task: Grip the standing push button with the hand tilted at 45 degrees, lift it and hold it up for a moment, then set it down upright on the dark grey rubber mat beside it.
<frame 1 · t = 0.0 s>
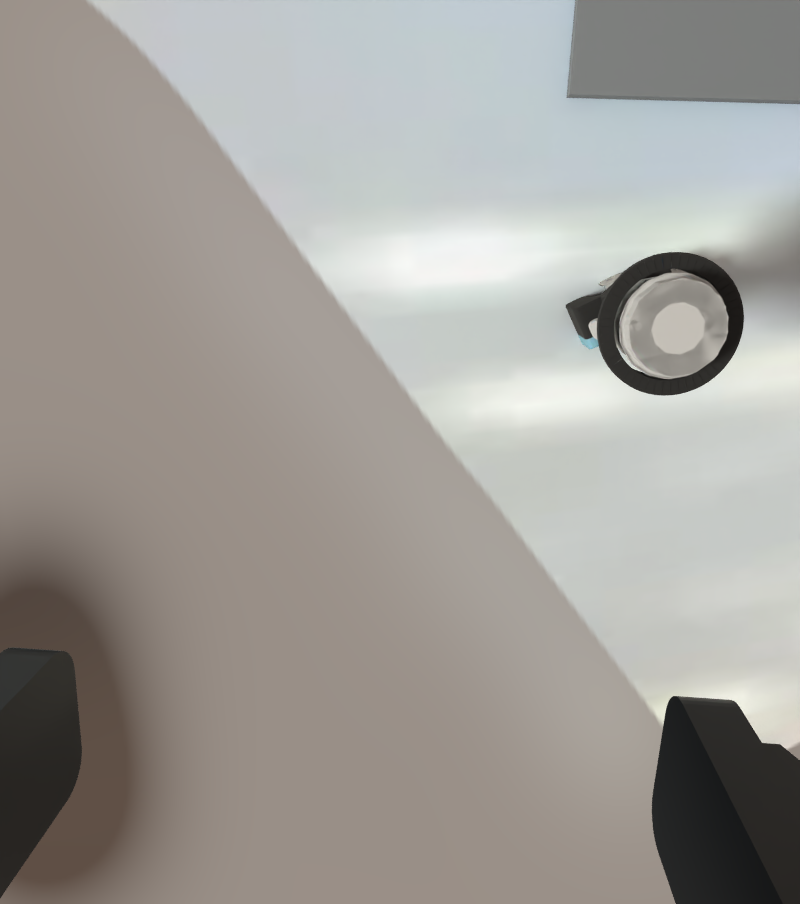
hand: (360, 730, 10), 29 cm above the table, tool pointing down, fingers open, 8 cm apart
push button: (630, 299, 37), on the table
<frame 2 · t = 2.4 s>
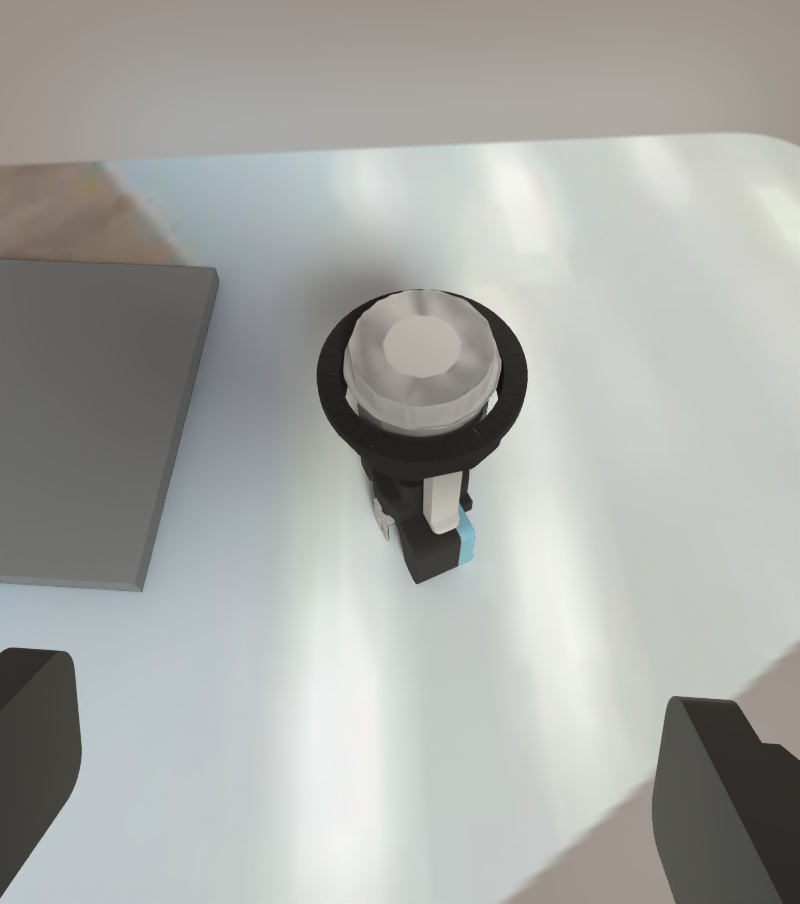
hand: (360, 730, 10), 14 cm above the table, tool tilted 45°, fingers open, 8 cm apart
push button: (412, 503, 27), on the table
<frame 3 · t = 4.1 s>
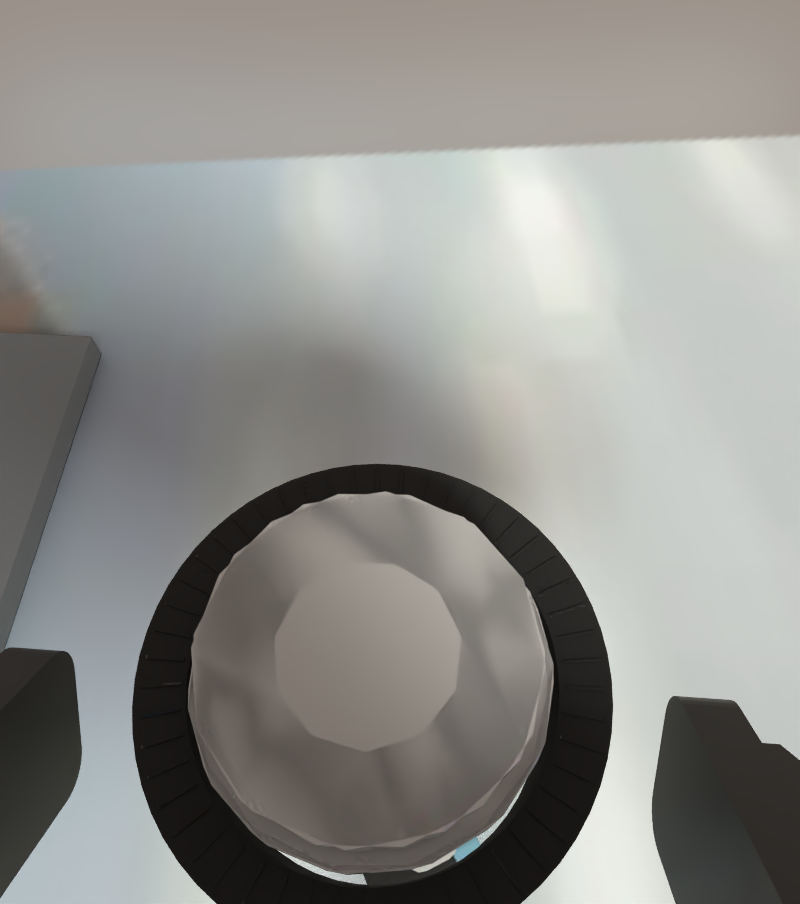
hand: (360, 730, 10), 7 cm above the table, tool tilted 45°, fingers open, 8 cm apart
push button: (379, 739, 17), on the table
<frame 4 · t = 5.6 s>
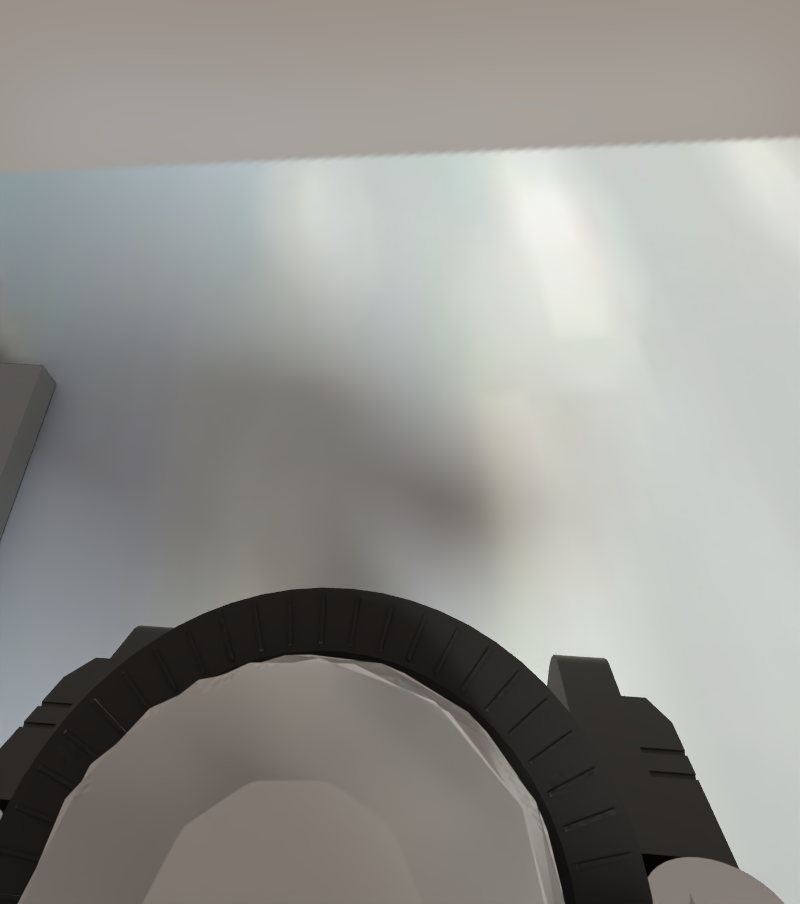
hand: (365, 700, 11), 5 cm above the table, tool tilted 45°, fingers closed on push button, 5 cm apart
push button: (367, 850, 14), on the table, touching gripper
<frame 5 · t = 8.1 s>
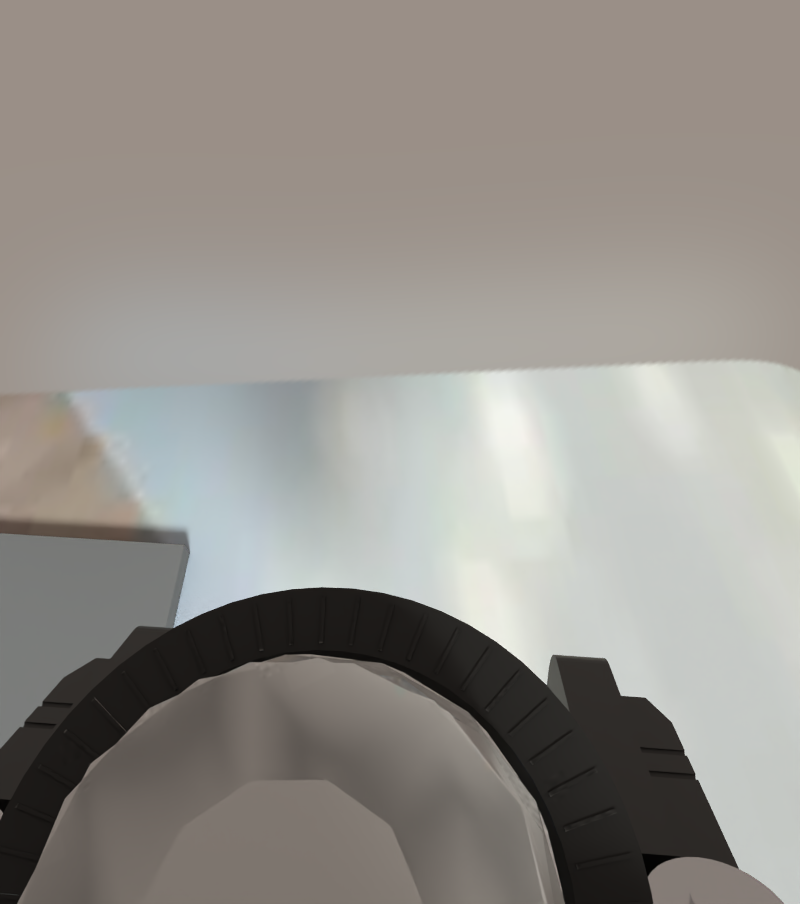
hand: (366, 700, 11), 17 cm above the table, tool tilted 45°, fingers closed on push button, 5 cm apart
push button: (368, 850, 14), point 12 cm above the table, touching gripper
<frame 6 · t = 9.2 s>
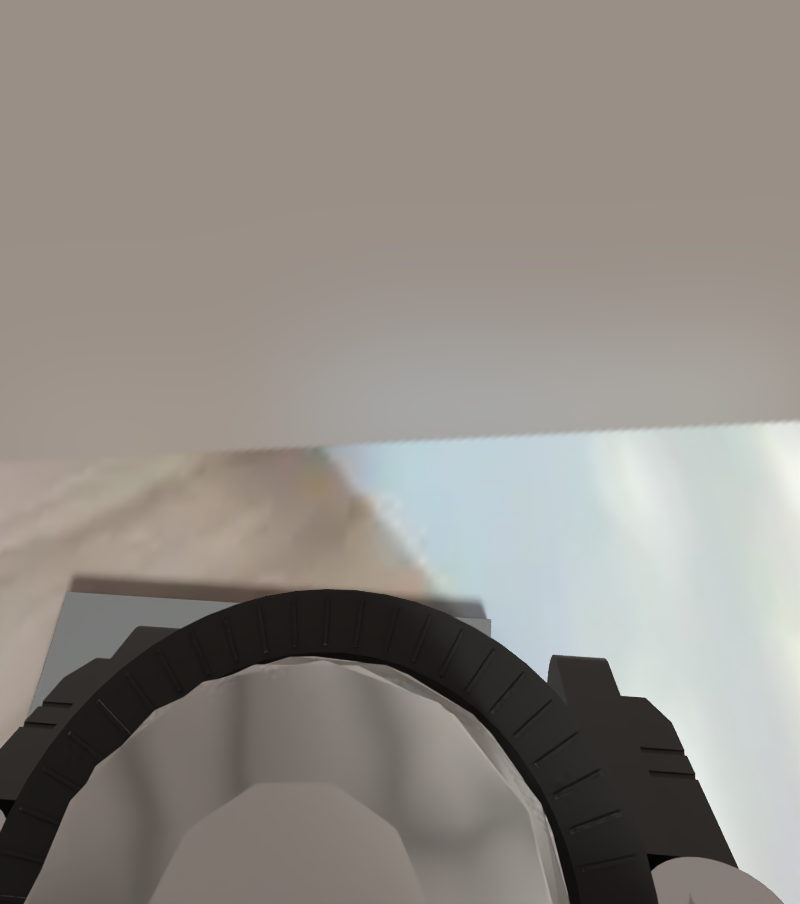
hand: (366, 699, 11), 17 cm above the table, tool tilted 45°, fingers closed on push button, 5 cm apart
push button: (371, 851, 14), point 12 cm above the table, touching gripper
rubber mat: (245, 815, 25), on the table
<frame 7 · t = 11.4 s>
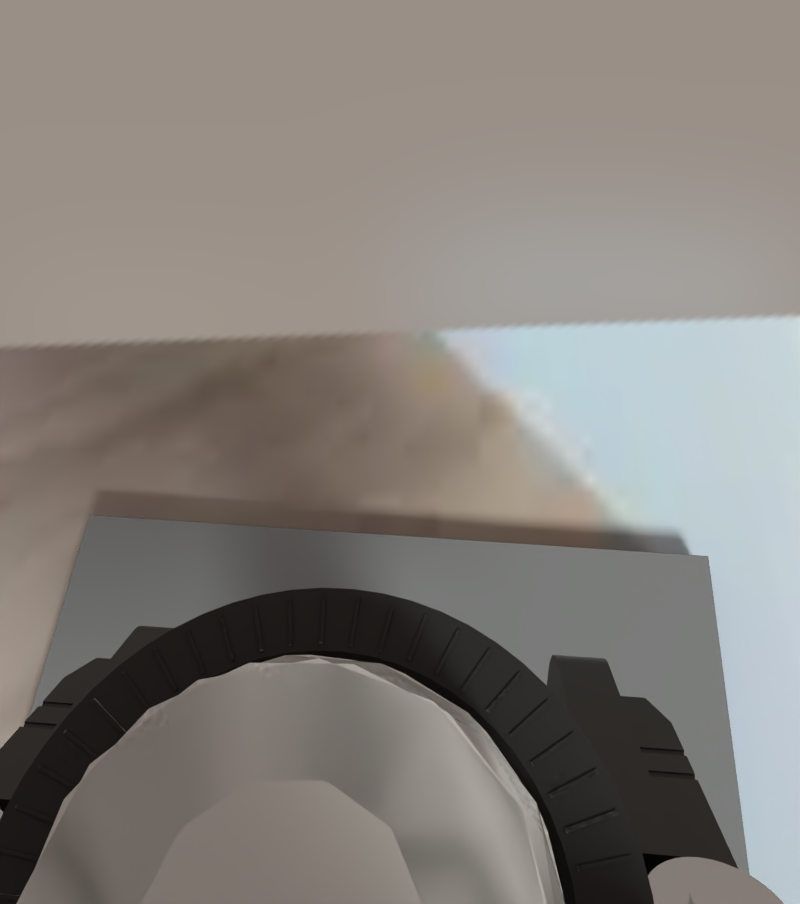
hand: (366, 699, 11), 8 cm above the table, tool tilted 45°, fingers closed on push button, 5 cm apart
push button: (370, 850, 14), point 3 cm above the table, touching gripper
rubber mat: (368, 841, 17), on the table
when the fingers open (7 cm above the table, at t = 12.0 s): push button drops 2 cm, resting on rubber mat.
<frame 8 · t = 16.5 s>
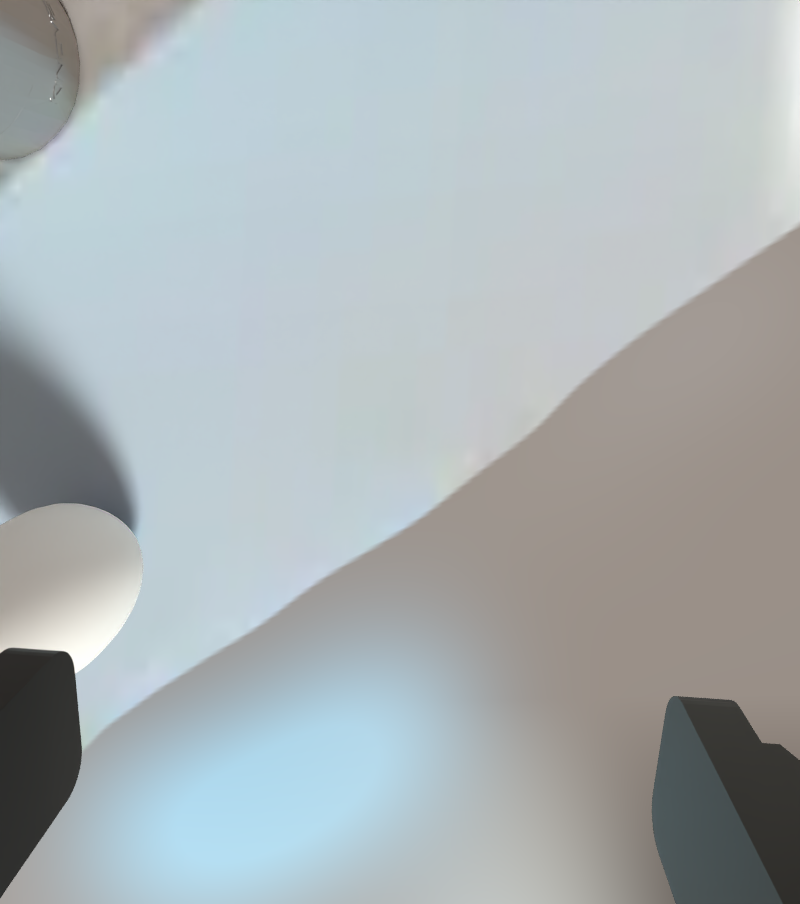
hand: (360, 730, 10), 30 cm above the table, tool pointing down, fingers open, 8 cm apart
sauce bottle: (106, 540, 43), on the table
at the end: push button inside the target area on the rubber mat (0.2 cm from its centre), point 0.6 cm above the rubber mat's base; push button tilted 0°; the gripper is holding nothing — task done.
